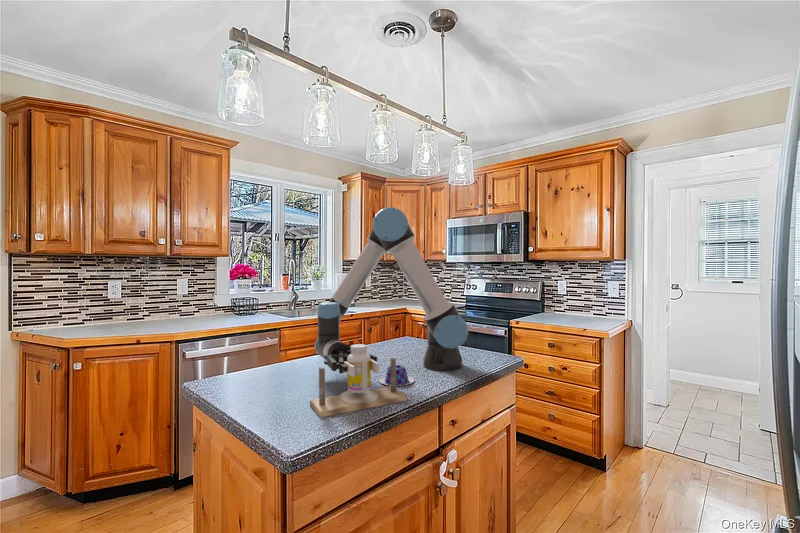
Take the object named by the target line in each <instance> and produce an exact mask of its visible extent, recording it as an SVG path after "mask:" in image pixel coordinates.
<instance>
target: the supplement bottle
mask: <svg viewBox="0 0 800 533" xmlns="http://www.w3.org/2000/svg"><path fill="white" fill-rule="evenodd" d="M350 348H351V354H350V355H349V356H348V358H347V362H348V363H350V364H351V365H353V366H354V367H355V377H352V376H350V375H349V374H347V373H346V375H347V391H348V390H349V391H350V392H352V393H364V392H367V391H369V390H371V388H372V386H371V385H372V383H371V382H372V380H371V370H370V355H369V354H370V353H368V352H367V350H368V344H367V345H366V344H365V343H364V344H363V343H362V344H361V343H358V344H357V343H355V344H351V345H350ZM367 353H368V354H367Z"/></svg>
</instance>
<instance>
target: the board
mask: <svg viewBox="0 0 800 533" xmlns="http://www.w3.org/2000/svg"><path fill="white" fill-rule="evenodd" d="M389 359H390V360H389V361H390V370H391V386H390V385H388V386H384V387H378V388H372V389H370V390H369V391H367V392H364V393H352V392H350V391H349V390H348V389H347V390H345V391H343V392H342V393H340V394H337V395H331V396H326V368H325V367H323V366H322V367H318V398H315V399H310V400H309V406H310V407H311V408H312V410H314V412H315V413H316V414H317V415H318V416H319V417H320V418H324V417H325V418H326V417H329V416H334V415H339V414H344V413H345V414H346V413H350V412H354V411H361V410H365V409H369V408H375V407H380V406H386V405H391V404H396V403H397V404H398V403H400V402H406V401H408V395H407V394H406V393H404V392H402V391H401V390H399V389H397V386H396V365H397V364H396V363H397V361H396V357H391V358H389Z"/></svg>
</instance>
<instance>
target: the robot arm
mask: <svg viewBox="0 0 800 533" xmlns="http://www.w3.org/2000/svg"><path fill="white" fill-rule="evenodd" d="M415 238H416V235H415V233H414V232H413V230H412V228H411V227H410V225H409V221H408V217H407V216H406V214H405V213H404V212H403V211H402V210H401V209H398V208H396V207H392V206H390V207H385V208H382V209H380V210H379V211H378V212H377V213H375V216H374V217H373V221H372V229H371V231H370V233H369V235H368V237H367V238H366V241H367V243H366V244H365V246H364V248H363V249H362V250H361V252H360V254H359V255H358V256H357V258H356V260H355V262H353V265H352V266H351V267H350V269H349V271H348V272H347V273H346V275H345V277H344V278H343V280H342V281H341V283H340V285H339V286H338V287H337V289H336V291H335V292H334V294H333V295H332V297H331V299H330V300H329V301H325V302H320V303H319V304H318V306H317V313H316V314H317V338H316V340H315V342H314V349H315V352H316V353H317V354H318V355H319V356H320V357H321V358H323V361H324V362H323V364H324V365H327V367H328V368H329V369H330V370H331V371H333V372H337V370H338V373H339V374H344V373H345V374H346V375H347V374H349V375H350V376H352V377H355V367H354V366H353V365H351V364H350V363H348V362H347V358H348V356H349V355H350V354H351V345H348V344H346V343H345V342H343V341H342V340H340V339H341V338H340V336H341V335H340V332H341V331H340V329H341V328H340V326H341V325H340V323H341V321H342V319H343V318H344V316H345V314H346V313H347V311H348V309H349V308H350V307H351V305H352V303H353V302H354V301H355V299H356V297H357V296H358V295H359V292H361V290H362V288H363V287H364V285H365V284H366V282H367V281H368V279H369V277H370V276H371V274H372V272H373V271H374V270H375V268H376V267H377V265H378V264H379V262H380V260H381V258H382V257H383V256H384V254H386V253H387V254H390V255H392V256H393V258H394V259H395V262H396V264H397V265H398V267H399V269H400V270H401V272H402V274H403V276H404V277H405V279H406V281H407V282H408V284H409V286H410V287H411V289H412V291H413V293H414V295H415V298H417V300H418V302H419V304H420V305H421V307H422V309H423V311H424V313H425V314H424V315H425V316H424V319H423V320H424V321H425V323H426V325H427V348H426V351H425V354H424V357H423V364H422V365H423V367H424V368H426V369H429V370H432V371H445V372H446V371H447V372H449V371H455V370H456V371H457V370H460V369H462V368H463V359H462V356H461V355H462V354H461V352H460V348H459V347H461V346H462V345H463V344H464V343H465V342H466V341H467V338H468V336H469V327H468V324H467V322H466V320H464V318H463V317H461V315H460V313H459V312H458V308H457V307H456V306H455V305H454V302H451V301H448V300H447V299H446V297H445V295H444V293H443V292H442V290H441V288H440V287H439V285H438V283H437V280H436V279H435V277H434V276H433V274H432V273H431V271H430V269H429V267H428V265H427V264H426V262H425V260H424V258H423V257H422V255H421V253H420V251H419V249H418V248H417V246H416V244H415V241H414V240H415ZM366 353H367V354H369V355H370V371H372V372H374V373H375V374H380V363H379V362H378V357H377V356H375V355H373V354H370V353H369V352H366Z"/></svg>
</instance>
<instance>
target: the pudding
mask: <svg viewBox="0 0 800 533" xmlns="http://www.w3.org/2000/svg"><path fill="white" fill-rule="evenodd" d="M384 380H385V381H384ZM408 381H409V383H408ZM378 382H379V383H380V384H383V385H385V386H391V370H390V366H388V367H387V370H386V375H385V376H382V377H381V378H379V380H378ZM384 382H385V383H387V384H385V383H384ZM414 382H415V379H414V378H413V377H411V376H410V375H408V373H407V369H406V366H403V365H401V364H400V365H398V364H396V384H397V385H396V387H398V386H399V387H400V386H403V385H404V384H405V385H404V386H407V385H410V384H412V383H414ZM406 383H407V384H406ZM388 384H389V385H388ZM402 384H403V385H402Z"/></svg>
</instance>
